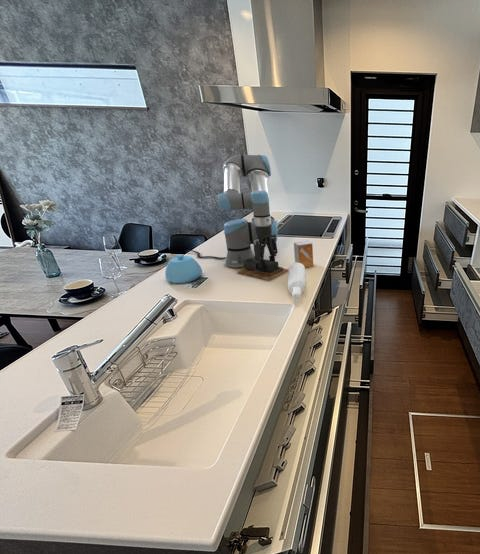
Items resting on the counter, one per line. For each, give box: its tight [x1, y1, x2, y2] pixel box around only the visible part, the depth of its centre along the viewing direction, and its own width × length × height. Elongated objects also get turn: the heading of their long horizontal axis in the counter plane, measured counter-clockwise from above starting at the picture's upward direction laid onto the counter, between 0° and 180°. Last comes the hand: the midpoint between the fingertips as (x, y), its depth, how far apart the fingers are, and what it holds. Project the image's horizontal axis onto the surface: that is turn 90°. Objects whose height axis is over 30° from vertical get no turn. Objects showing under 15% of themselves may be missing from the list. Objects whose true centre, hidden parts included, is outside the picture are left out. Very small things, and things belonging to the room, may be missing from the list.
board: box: [237, 257, 289, 282], centre depth 153 cm, size 20×14×6 cm
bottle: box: [287, 262, 307, 303], centre depth 134 cm, size 8×8×30 cm
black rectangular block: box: [257, 259, 279, 273], centre depth 151 cm, size 8×6×5 cm
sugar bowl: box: [164, 253, 203, 284], centre depth 142 cm, size 15×15×12 cm
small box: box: [293, 240, 314, 269], centre depth 161 cm, size 8×6×13 cm
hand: (268, 270), depth 152 cm, fingers closed on black rectangular block, 6 cm apart
